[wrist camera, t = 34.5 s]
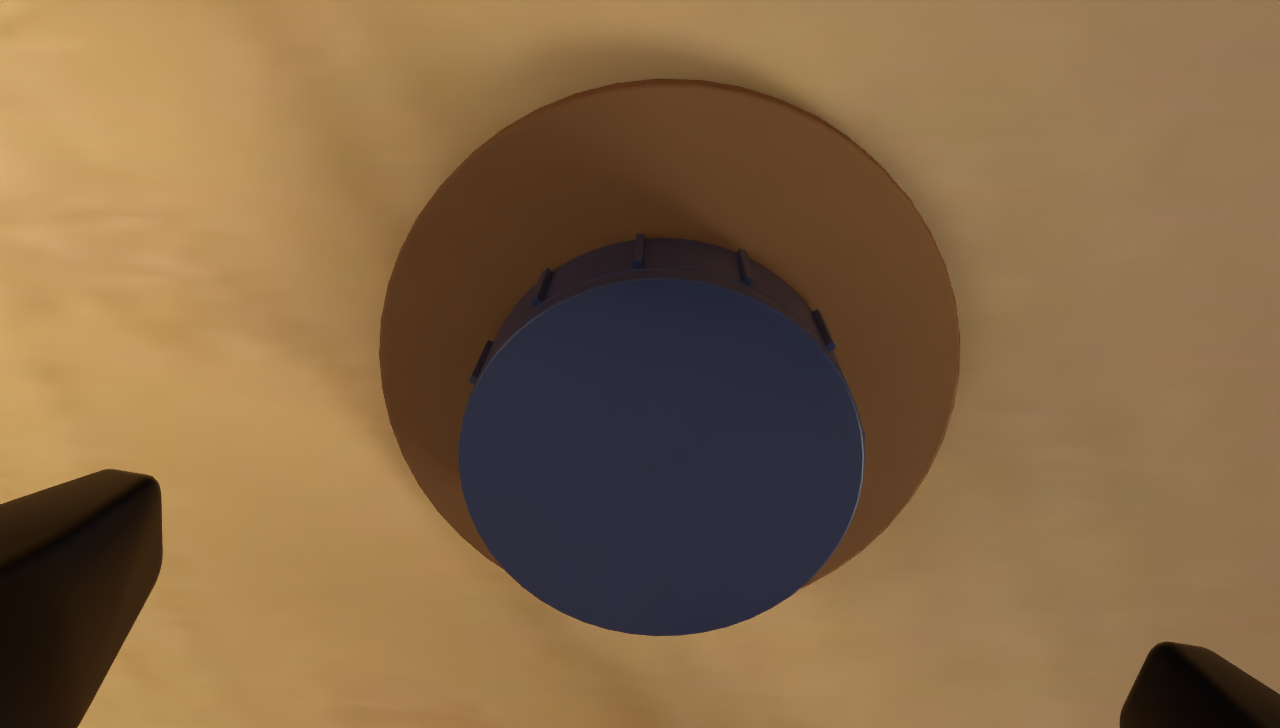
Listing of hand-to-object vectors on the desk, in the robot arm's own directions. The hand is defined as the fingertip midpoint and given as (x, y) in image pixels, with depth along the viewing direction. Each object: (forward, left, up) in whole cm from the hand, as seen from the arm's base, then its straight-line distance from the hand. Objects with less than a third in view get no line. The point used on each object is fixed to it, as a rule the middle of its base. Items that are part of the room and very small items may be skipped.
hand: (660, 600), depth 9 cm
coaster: (0, 0, -6) cm, 6 cm away
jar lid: (-1, 0, -4) cm, 4 cm away
